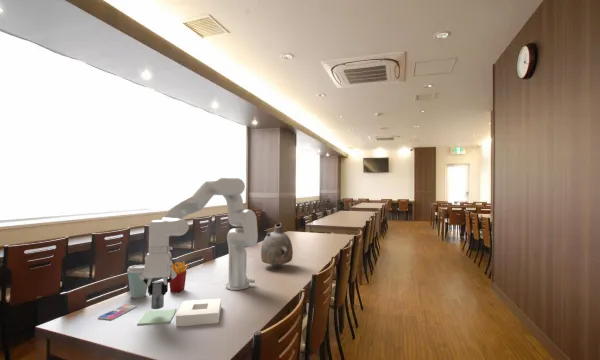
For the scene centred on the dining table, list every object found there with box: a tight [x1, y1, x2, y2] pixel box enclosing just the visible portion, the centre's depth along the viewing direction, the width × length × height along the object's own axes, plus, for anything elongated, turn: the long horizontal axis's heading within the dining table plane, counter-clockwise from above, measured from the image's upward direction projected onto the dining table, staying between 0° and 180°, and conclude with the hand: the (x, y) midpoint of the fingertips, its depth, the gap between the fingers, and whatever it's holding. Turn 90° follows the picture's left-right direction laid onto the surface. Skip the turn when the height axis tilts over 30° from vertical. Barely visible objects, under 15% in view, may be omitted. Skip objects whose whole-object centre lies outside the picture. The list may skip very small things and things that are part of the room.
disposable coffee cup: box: [126, 264, 149, 299], centre depth 150 cm, size 11×11×15 cm
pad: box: [136, 309, 177, 326], centre depth 124 cm, size 12×12×1 cm
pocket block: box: [175, 297, 222, 327], centre depth 126 cm, size 16×16×4 cm
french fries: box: [168, 260, 189, 294], centre depth 158 cm, size 9×8×15 cm
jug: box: [260, 222, 294, 268], centre depth 204 cm, size 24×21×30 cm
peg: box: [150, 280, 165, 310], centre depth 124 cm, size 5×5×10 cm
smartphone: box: [97, 303, 138, 321], centre depth 129 cm, size 7×1×15 cm
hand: (157, 293), depth 124 cm, fingers closed on peg, 4 cm apart
